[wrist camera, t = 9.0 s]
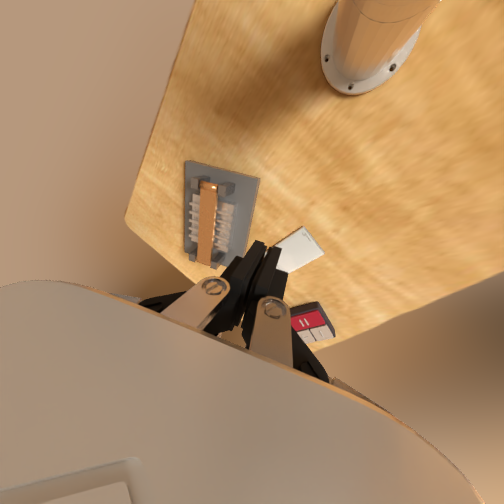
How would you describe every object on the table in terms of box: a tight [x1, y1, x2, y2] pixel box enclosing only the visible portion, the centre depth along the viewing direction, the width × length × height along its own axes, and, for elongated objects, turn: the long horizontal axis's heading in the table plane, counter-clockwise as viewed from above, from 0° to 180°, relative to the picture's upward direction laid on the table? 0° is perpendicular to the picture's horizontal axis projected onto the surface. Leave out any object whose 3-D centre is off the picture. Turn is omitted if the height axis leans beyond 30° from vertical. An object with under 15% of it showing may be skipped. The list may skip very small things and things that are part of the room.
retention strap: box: [197, 181, 218, 266], centre depth 42 cm, size 20×4×2 cm, turn 169°
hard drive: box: [264, 226, 325, 274], centre depth 46 cm, size 2×8×12 cm
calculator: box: [290, 301, 335, 344], centre depth 53 cm, size 11×4×15 cm
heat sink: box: [189, 175, 238, 269], centre depth 43 cm, size 20×10×5 cm, turn 169°
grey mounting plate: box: [185, 160, 260, 267], centre depth 47 cm, size 24×17×2 cm
